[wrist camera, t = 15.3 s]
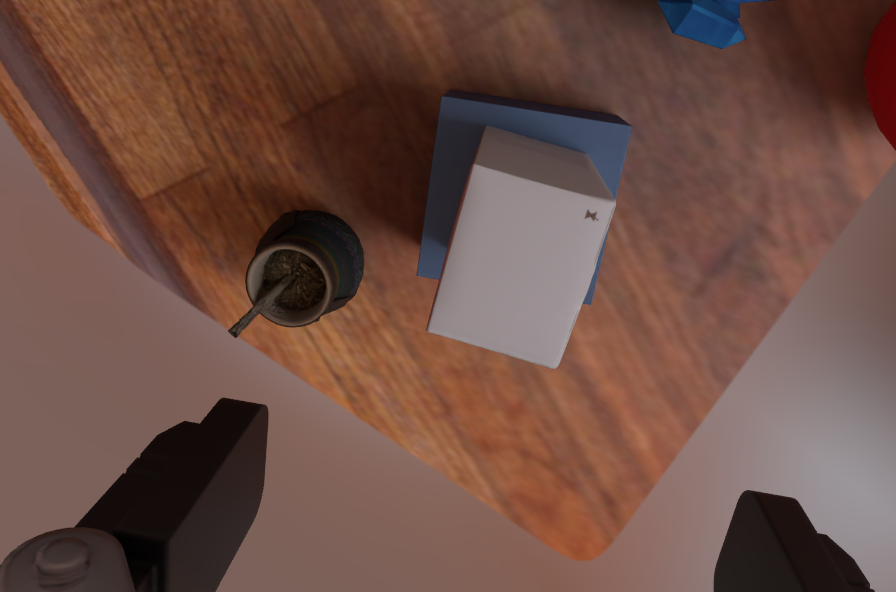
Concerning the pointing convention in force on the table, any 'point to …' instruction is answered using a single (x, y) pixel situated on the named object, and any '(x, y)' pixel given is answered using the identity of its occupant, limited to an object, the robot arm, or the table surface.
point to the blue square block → (547, 123)
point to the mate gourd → (302, 269)
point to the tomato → (883, 75)
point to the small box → (522, 248)
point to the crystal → (706, 20)
